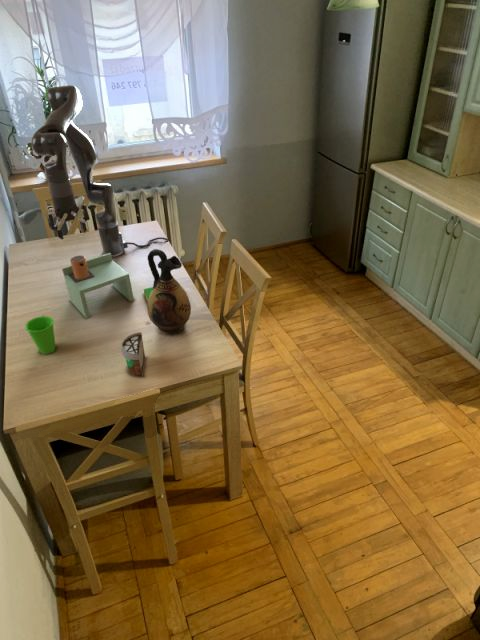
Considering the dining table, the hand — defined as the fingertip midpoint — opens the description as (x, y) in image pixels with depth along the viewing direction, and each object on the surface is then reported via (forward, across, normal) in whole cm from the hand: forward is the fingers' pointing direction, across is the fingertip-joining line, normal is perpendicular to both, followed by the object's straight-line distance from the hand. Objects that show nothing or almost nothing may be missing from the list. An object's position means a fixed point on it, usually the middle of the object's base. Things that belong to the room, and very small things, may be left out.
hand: (73, 235), depth 172 cm
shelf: (+28, +3, -5) cm, 28 cm away
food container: (+27, -6, -51) cm, 58 cm away
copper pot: (+15, -2, -3) cm, 16 cm away
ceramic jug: (+28, +15, -38) cm, 49 cm away
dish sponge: (+28, +20, -19) cm, 40 cm away
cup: (+27, -25, -23) cm, 43 cm away
